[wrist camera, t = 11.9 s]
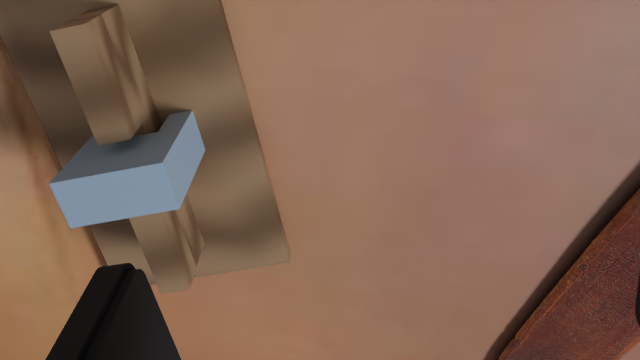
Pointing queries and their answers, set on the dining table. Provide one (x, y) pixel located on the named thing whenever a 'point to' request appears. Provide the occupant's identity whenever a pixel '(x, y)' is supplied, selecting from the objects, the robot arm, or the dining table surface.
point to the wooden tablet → (590, 301)
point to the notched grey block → (130, 174)
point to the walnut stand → (154, 123)
